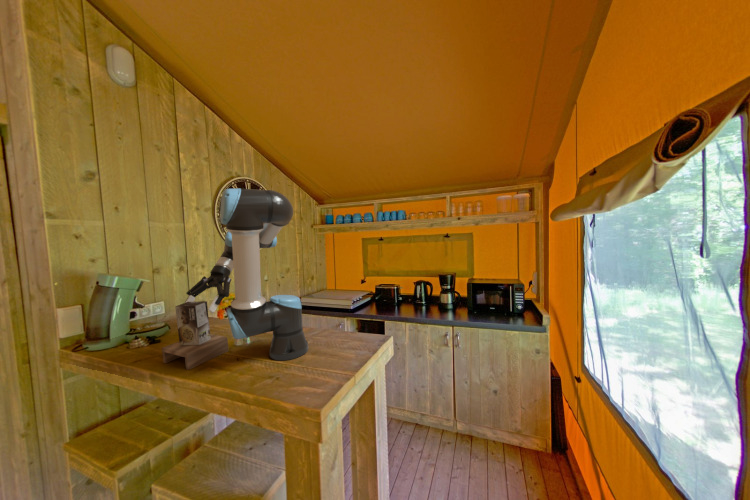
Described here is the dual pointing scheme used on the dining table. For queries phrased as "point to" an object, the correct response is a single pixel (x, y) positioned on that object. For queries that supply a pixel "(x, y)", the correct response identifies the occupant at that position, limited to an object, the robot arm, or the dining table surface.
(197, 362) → the walnut shelf
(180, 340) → the coffee box
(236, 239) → the robot arm
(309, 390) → the dining table surface
